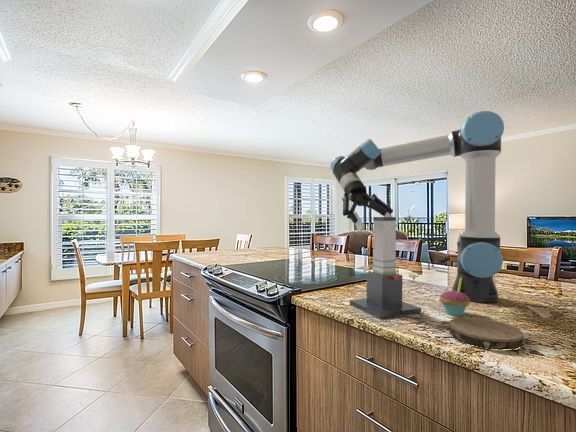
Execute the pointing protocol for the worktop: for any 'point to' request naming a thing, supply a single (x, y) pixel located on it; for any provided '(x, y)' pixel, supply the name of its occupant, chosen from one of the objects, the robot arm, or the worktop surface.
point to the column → (384, 246)
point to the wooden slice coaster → (486, 333)
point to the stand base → (384, 297)
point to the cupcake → (455, 301)
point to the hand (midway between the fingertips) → (378, 228)
